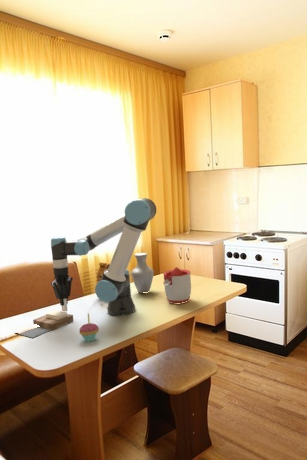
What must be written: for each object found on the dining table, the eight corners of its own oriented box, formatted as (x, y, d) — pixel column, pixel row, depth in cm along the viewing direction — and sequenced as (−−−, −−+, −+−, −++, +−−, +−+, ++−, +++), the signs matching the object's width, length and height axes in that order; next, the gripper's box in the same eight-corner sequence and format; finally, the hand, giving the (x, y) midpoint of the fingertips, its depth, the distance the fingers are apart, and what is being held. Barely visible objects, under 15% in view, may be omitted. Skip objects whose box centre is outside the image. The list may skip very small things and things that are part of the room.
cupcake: (81, 336, 164) (79, 311, 163) (100, 334, 165) (98, 309, 164) (79, 344, 156) (76, 317, 155) (99, 342, 156) (96, 315, 155)
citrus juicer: (157, 303, 206) (154, 268, 204) (178, 295, 217) (176, 263, 215) (176, 308, 194) (174, 272, 192) (198, 300, 205) (196, 266, 203)
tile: (67, 316, 185) (66, 312, 185) (58, 319, 180) (57, 316, 180) (55, 313, 190) (55, 310, 190) (46, 317, 186) (46, 313, 185)
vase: (129, 292, 233) (126, 254, 231) (149, 288, 239) (146, 251, 237) (137, 297, 220) (134, 257, 218) (158, 293, 226) (156, 253, 224)
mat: (51, 330, 175) (51, 329, 175) (32, 338, 166) (32, 337, 166) (33, 325, 183) (33, 324, 183) (14, 333, 174) (14, 332, 174)
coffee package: (106, 301, 215) (102, 265, 213) (96, 297, 225) (93, 263, 223) (120, 298, 221) (117, 262, 219) (110, 294, 231) (107, 260, 229)
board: (73, 320, 187) (72, 314, 186) (51, 330, 175) (51, 324, 175) (55, 316, 195) (55, 311, 194) (33, 325, 183) (33, 319, 183)
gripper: (65, 263, 195) (69, 306, 197) (45, 268, 184) (50, 313, 187) (75, 264, 191) (78, 308, 193) (55, 270, 180) (59, 315, 183)
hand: (64, 310), depth 190 cm, fingers closed
